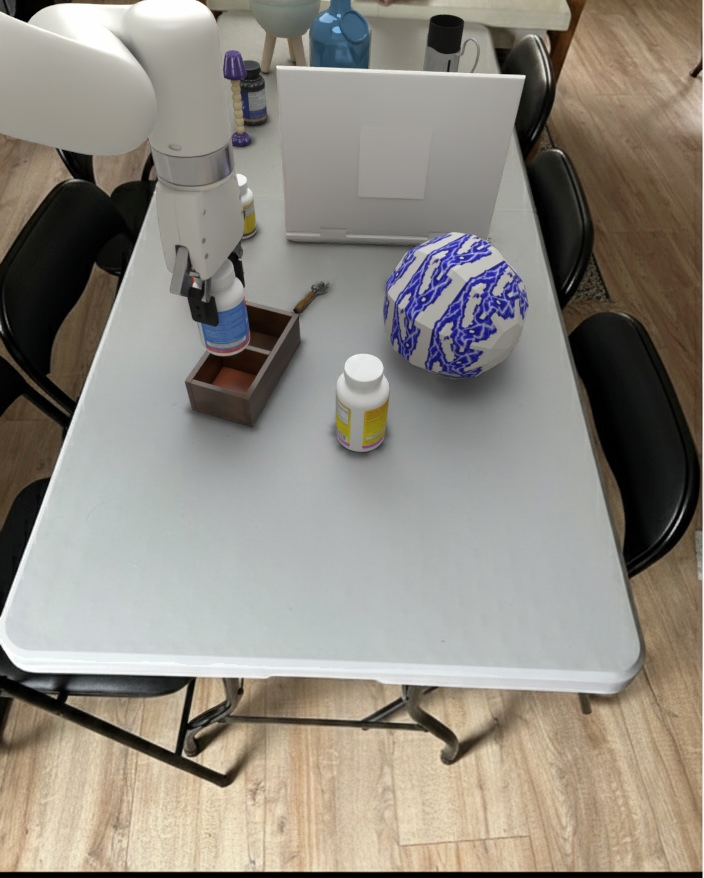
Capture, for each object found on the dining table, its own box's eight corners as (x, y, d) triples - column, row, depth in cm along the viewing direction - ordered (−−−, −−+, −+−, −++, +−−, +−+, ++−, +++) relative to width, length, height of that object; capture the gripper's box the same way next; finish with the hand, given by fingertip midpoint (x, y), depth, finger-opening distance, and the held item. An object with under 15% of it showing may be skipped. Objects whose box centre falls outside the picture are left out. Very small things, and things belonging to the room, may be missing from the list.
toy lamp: (230, 135, 131) (219, 48, 117) (252, 134, 131) (244, 47, 118) (231, 147, 128) (220, 58, 115) (254, 146, 128) (245, 57, 115)
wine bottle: (298, 98, 142) (293, -66, 118) (345, 84, 147) (348, -76, 123) (334, 122, 136) (335, -46, 112) (381, 106, 141) (392, -58, 117)
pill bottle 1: (260, 343, 78) (251, 271, 69) (218, 365, 75) (203, 293, 66) (233, 317, 80) (222, 244, 72) (192, 336, 78) (175, 264, 69)
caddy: (191, 409, 85) (184, 381, 81) (245, 328, 95) (241, 299, 91) (252, 427, 83) (248, 400, 79) (300, 342, 94) (299, 314, 89)
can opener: (298, 315, 97) (297, 310, 96) (286, 309, 98) (286, 303, 97) (333, 286, 102) (333, 281, 101) (321, 281, 102) (321, 275, 101)
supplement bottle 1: (219, 234, 110) (211, 182, 102) (238, 219, 112) (231, 167, 105) (244, 244, 108) (238, 192, 100) (262, 228, 111) (258, 177, 103)
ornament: (446, 364, 72) (336, 276, 80) (462, 429, 89) (371, 351, 98) (563, 250, 73) (443, 176, 82) (557, 335, 91) (458, 267, 100)
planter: (321, 85, 146) (320, -29, 129) (252, 84, 145) (242, -31, 128) (320, 56, 156) (319, -54, 138) (256, 55, 155) (247, -56, 137)
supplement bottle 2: (390, 421, 85) (398, 354, 75) (378, 459, 81) (385, 393, 71) (343, 410, 86) (345, 342, 76) (329, 447, 82) (329, 380, 72)
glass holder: (435, 82, 149) (445, 10, 137) (481, 103, 143) (495, 30, 131) (410, 92, 146) (418, 19, 134) (456, 114, 140) (468, 40, 128)
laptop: (469, 171, 125) (500, 8, 102) (485, 251, 109) (526, 78, 86) (296, 165, 124) (289, -1, 102) (286, 244, 108) (275, 68, 86)
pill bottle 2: (235, 115, 136) (229, 60, 127) (261, 110, 138) (257, 56, 129) (244, 128, 133) (239, 73, 124) (271, 123, 134) (267, 68, 126)
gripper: (200, 109, 65) (223, 255, 79) (108, 194, 55) (154, 343, 69) (266, 123, 63) (277, 268, 78) (185, 213, 53) (215, 361, 68)
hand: (219, 302), depth 73 cm, fingers closed on pill bottle 1, 6 cm apart
